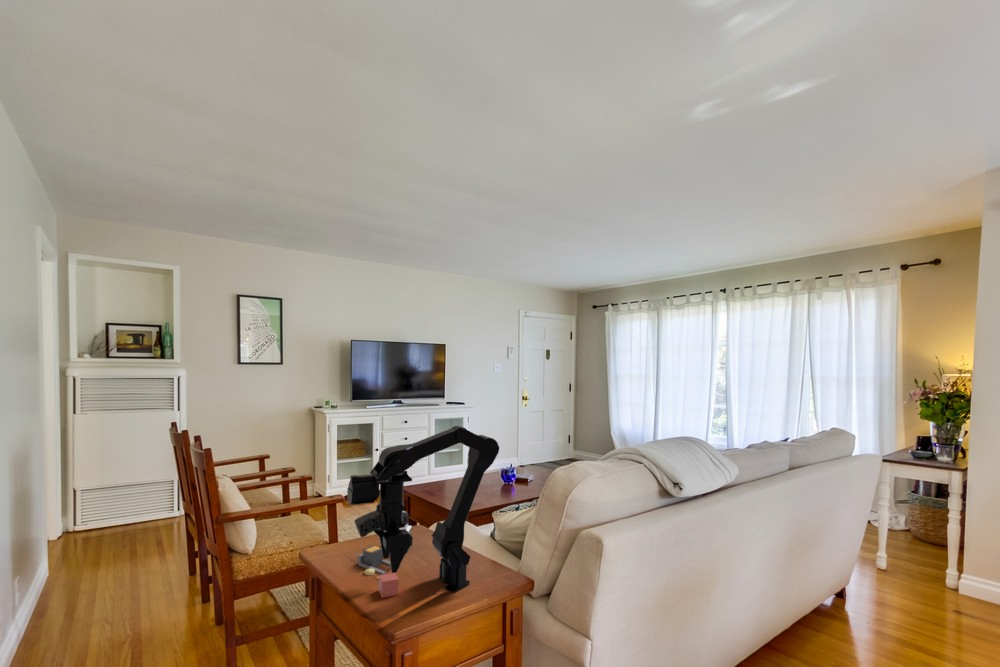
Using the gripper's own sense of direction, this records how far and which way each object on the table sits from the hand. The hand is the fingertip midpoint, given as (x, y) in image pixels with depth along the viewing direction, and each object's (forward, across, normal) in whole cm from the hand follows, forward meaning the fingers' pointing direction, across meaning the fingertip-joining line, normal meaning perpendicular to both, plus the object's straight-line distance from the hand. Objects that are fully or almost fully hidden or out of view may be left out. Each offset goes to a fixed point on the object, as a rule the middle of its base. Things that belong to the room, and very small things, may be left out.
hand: (389, 565), depth 121 cm
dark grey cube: (+6, -18, 0) cm, 20 cm away
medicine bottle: (+8, -27, +8) cm, 29 cm away
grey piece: (+8, -14, 0) cm, 16 cm away
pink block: (+8, 0, 0) cm, 8 cm away
